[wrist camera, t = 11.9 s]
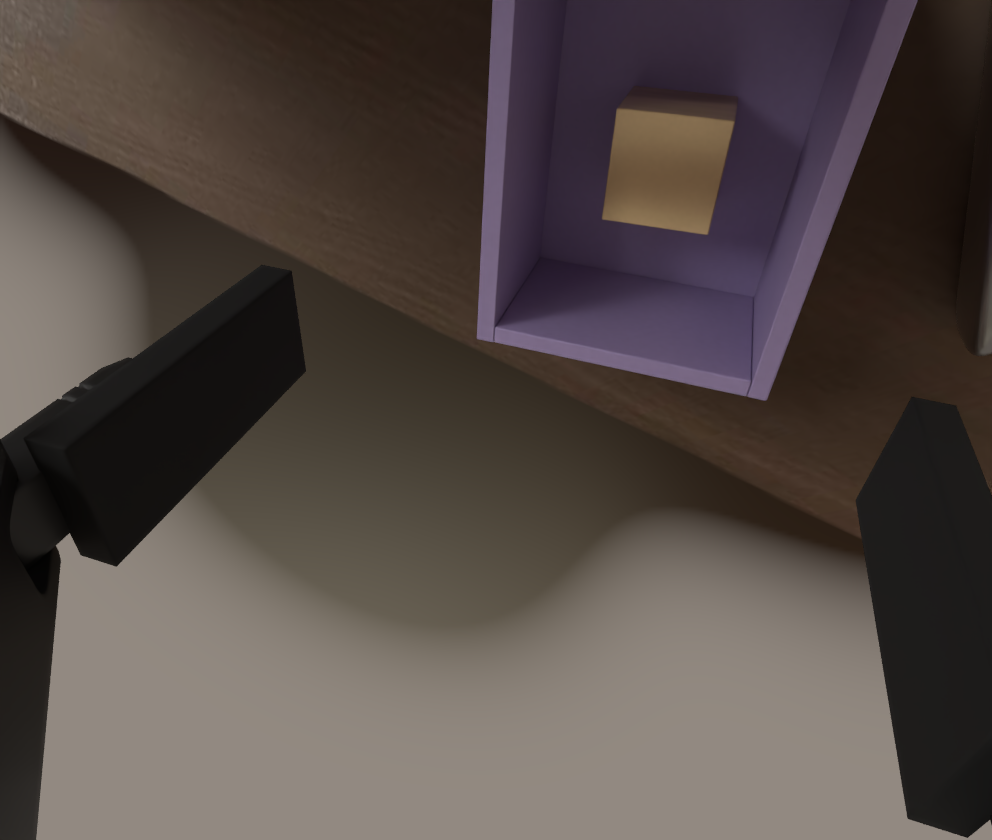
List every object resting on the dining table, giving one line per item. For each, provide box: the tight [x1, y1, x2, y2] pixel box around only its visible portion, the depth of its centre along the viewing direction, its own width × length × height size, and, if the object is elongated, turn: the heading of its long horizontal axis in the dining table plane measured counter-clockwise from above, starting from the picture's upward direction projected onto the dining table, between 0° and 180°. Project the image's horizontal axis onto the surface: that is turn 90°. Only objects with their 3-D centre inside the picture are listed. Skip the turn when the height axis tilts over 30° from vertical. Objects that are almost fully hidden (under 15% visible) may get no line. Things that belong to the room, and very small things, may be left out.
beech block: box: [602, 86, 738, 235], centre depth 29 cm, size 4×4×4 cm
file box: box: [477, 0, 918, 401], centre depth 27 cm, size 17×13×9 cm
